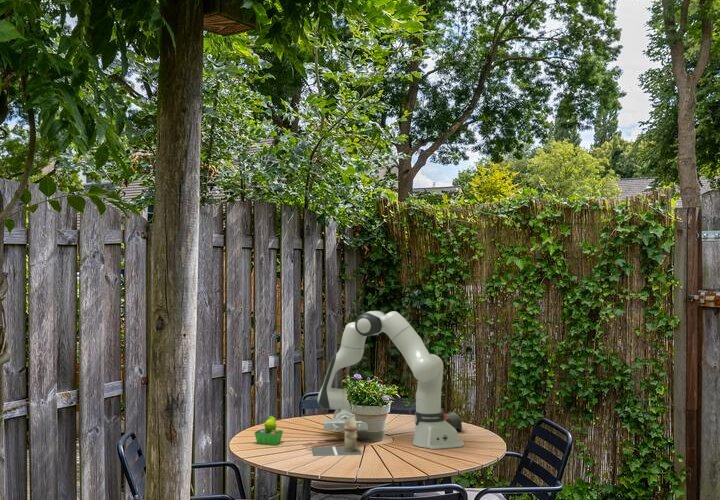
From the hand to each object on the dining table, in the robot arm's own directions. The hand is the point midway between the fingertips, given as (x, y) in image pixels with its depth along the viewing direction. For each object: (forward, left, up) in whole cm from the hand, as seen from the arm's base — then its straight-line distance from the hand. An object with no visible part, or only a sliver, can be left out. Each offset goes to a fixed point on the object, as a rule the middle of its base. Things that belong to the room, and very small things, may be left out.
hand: (347, 428), depth 281 cm
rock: (-52, -28, -8) cm, 60 cm away
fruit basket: (+34, -10, -8) cm, 36 cm away
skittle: (0, +12, -7) cm, 14 cm away
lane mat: (+6, +12, -8) cm, 15 cm away
